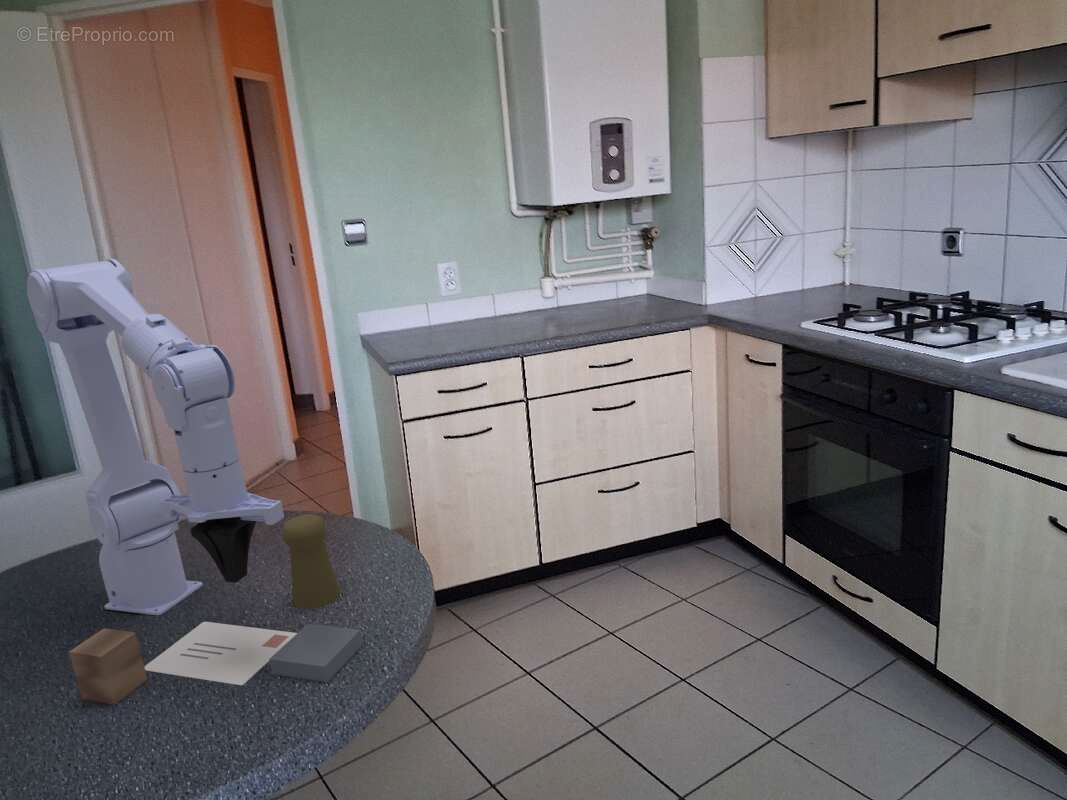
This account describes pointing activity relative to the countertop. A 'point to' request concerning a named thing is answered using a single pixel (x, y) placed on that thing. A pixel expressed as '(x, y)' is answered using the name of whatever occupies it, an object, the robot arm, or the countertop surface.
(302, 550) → the cork
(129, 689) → the walnut block
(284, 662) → the metal block
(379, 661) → the countertop surface
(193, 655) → the letter
